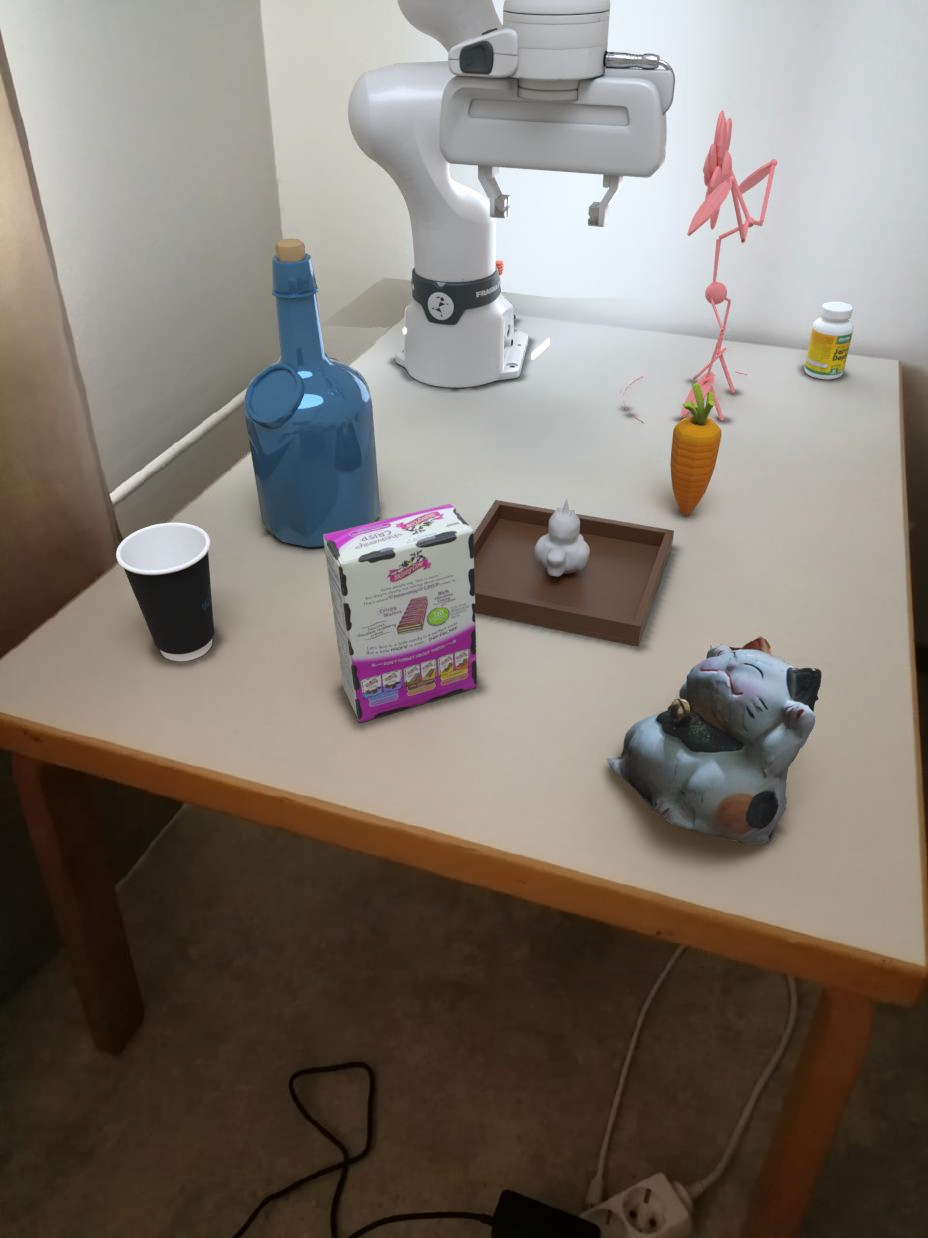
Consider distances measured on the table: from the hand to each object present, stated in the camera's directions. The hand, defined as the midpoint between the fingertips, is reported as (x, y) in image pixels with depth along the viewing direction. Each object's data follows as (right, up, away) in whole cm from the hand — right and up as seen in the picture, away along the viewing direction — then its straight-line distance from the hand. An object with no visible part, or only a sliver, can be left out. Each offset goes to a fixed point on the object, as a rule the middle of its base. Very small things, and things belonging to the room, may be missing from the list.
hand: (547, 220), depth 90 cm
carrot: (+17, -26, +18) cm, 35 cm away
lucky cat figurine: (+11, -50, -14) cm, 53 cm away
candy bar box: (-13, -43, -5) cm, 46 cm away
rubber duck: (+2, -32, +8) cm, 33 cm away
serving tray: (+2, -33, +8) cm, 34 cm away
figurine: (+21, -7, +42) cm, 47 cm away
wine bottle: (-24, -26, +18) cm, 40 cm away
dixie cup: (-34, -40, 0) cm, 52 cm away
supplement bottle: (+43, -2, +48) cm, 65 cm away
